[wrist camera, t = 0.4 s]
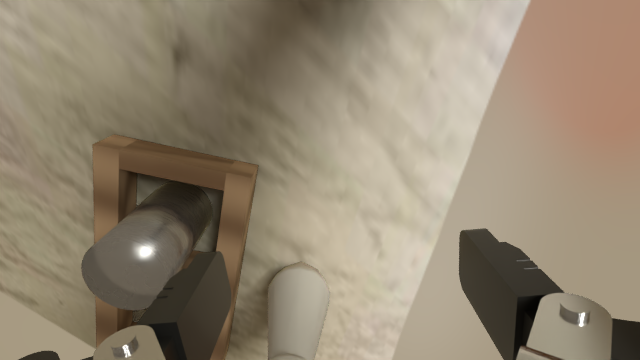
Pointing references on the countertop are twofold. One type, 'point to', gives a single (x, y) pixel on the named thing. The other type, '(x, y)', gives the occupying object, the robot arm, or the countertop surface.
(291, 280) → the salt shaker
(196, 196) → the pepper shaker
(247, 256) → the countertop surface
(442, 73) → the countertop surface
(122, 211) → the spice rail
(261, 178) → the countertop surface
